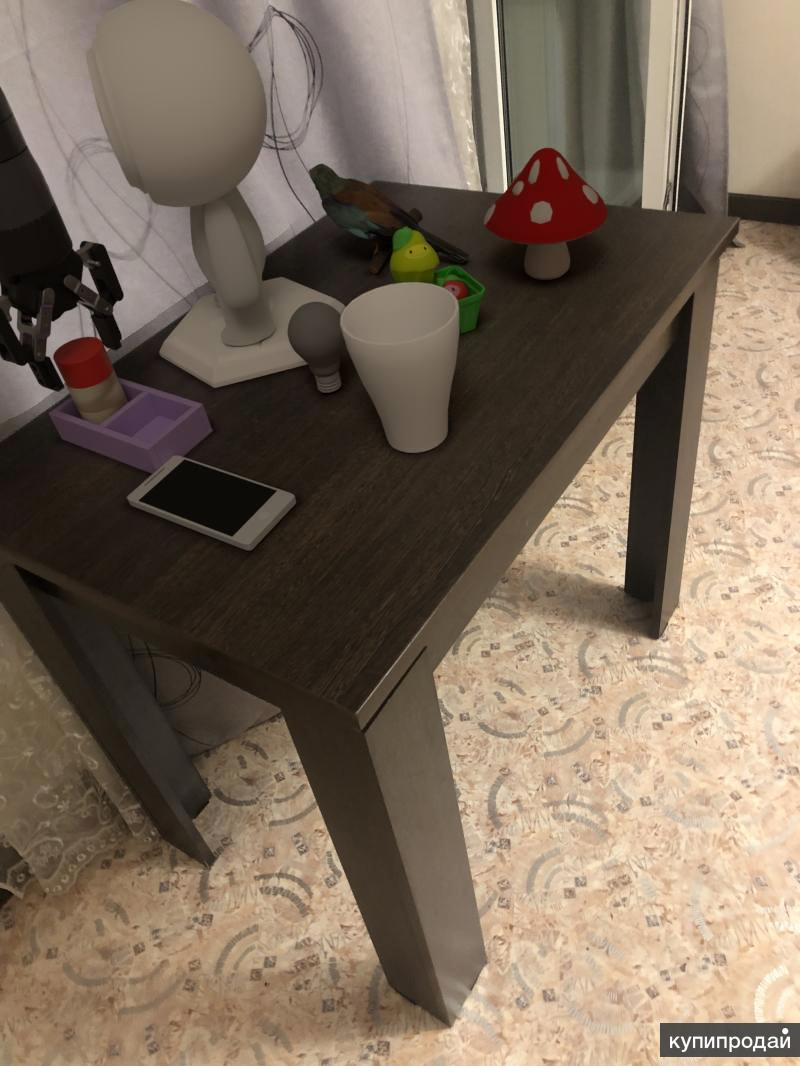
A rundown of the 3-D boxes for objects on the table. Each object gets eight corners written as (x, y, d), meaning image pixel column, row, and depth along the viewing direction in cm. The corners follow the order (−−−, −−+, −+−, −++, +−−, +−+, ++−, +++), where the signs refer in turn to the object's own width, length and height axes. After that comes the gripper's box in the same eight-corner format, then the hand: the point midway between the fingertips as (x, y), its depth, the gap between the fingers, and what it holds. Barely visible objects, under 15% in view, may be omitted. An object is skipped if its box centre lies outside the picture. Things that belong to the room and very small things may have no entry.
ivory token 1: (98, 418, 83) (86, 393, 81) (67, 407, 86) (54, 383, 83) (133, 391, 86) (123, 367, 84) (102, 381, 88) (91, 357, 86)
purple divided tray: (159, 476, 81) (147, 449, 78) (61, 439, 88) (47, 413, 86) (213, 431, 85) (203, 403, 83) (115, 398, 92) (103, 372, 90)
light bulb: (320, 369, 91) (301, 287, 84) (367, 377, 89) (351, 294, 82) (292, 400, 87) (270, 317, 80) (340, 409, 85) (321, 324, 78)
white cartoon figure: (158, 318, 105) (38, 2, 80) (330, 275, 107) (264, -45, 82) (164, 401, 90) (20, 48, 66) (363, 350, 92) (294, -10, 68)
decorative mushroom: (478, 304, 96) (469, 176, 86) (496, 249, 106) (490, 127, 95) (600, 304, 93) (606, 170, 82) (608, 247, 102) (614, 121, 92)
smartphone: (250, 552, 71) (247, 544, 71) (127, 504, 78) (124, 497, 78) (298, 501, 75) (296, 493, 75) (177, 460, 82) (174, 453, 82)
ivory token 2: (109, 441, 85) (98, 418, 83) (78, 429, 88) (67, 407, 86) (143, 414, 88) (133, 391, 86) (112, 404, 90) (102, 381, 88)
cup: (457, 393, 84) (445, 272, 75) (482, 455, 77) (471, 328, 67) (358, 415, 84) (333, 295, 74) (373, 478, 76) (347, 355, 67)
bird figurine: (483, 237, 107) (390, 100, 98) (461, 275, 101) (360, 133, 92) (409, 281, 116) (318, 159, 107) (384, 319, 109) (285, 192, 101)
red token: (87, 393, 81) (74, 368, 79) (55, 382, 83) (42, 357, 81) (123, 367, 84) (112, 341, 82) (91, 357, 86) (80, 332, 84)
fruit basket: (399, 364, 90) (384, 268, 82) (369, 330, 96) (352, 237, 88) (490, 331, 92) (484, 234, 84) (455, 299, 98) (446, 207, 90)
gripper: (46, 172, 77) (112, 325, 89) (-84, 239, 69) (6, 398, 81) (98, 180, 74) (160, 338, 85) (-32, 251, 66) (55, 415, 77)
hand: (85, 367), depth 83 cm, fingers open, 7 cm apart
